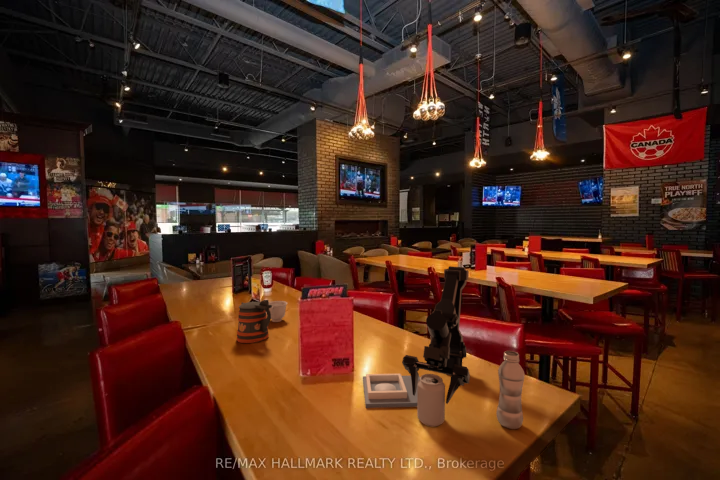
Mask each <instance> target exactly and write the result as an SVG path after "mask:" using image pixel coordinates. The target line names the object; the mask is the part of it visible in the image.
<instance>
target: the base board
mask: <svg viewBox="0 0 720 480" xmlns="http://www.w3.org/2000/svg"><path fill="white" fill-rule="evenodd" d="M420 377H421V376H419V377H418V381H419V380H420ZM362 385H363V395H364V396H363V397H364V405H365V406H364V407H365V409H370V408H371V409H372V408H373V409H374V408H375V409H376V408H378V409H379V408H409V407H410V408H412V407H413V408H414V407H415V408H417V393H418V383H417V389H416V393H415V396H414V395H413V391H412V380H411V375H402V373H366V374H365V375H363V376H362Z"/></svg>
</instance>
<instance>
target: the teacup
mask: <svg viewBox="0 0 720 480" xmlns="http://www.w3.org/2000/svg"><path fill="white" fill-rule="evenodd" d="M269 305H272V308H269V310H270V313H271V319H270V320H271V322H273V323H280V322H282V321H283V318H284V317H285V315H286V309H287V305H288V302H287V301H285V300H274V301H273V300H271V301H269Z"/></svg>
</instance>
